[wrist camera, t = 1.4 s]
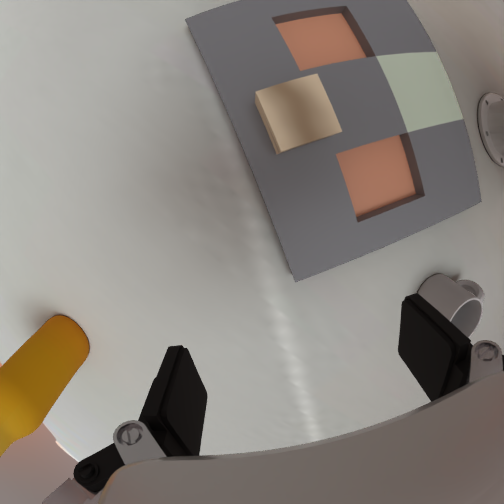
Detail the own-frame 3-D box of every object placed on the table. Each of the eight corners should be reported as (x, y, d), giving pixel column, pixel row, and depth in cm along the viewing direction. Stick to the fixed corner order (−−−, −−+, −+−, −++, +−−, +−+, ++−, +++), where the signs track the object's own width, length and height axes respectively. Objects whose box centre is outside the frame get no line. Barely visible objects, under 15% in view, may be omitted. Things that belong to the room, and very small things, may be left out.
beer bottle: (42, 319, 36) (-54, 421, 9) (70, 307, 35) (-42, 430, 8) (69, 361, 39) (-6, 472, 11) (100, 353, 38) (19, 489, 10)
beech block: (307, 86, 25) (317, 73, 20) (329, 136, 26) (342, 131, 22) (254, 103, 25) (255, 91, 21) (276, 154, 27) (281, 151, 23)
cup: (410, 287, 34) (443, 317, 26) (457, 255, 33) (494, 276, 24) (418, 323, 36) (446, 354, 28) (462, 291, 35) (494, 316, 26)
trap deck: (389, -8, 21) (395, -15, 18) (470, 198, 30) (481, 201, 28) (189, 28, 24) (184, 19, 22) (292, 274, 33) (295, 282, 31)
